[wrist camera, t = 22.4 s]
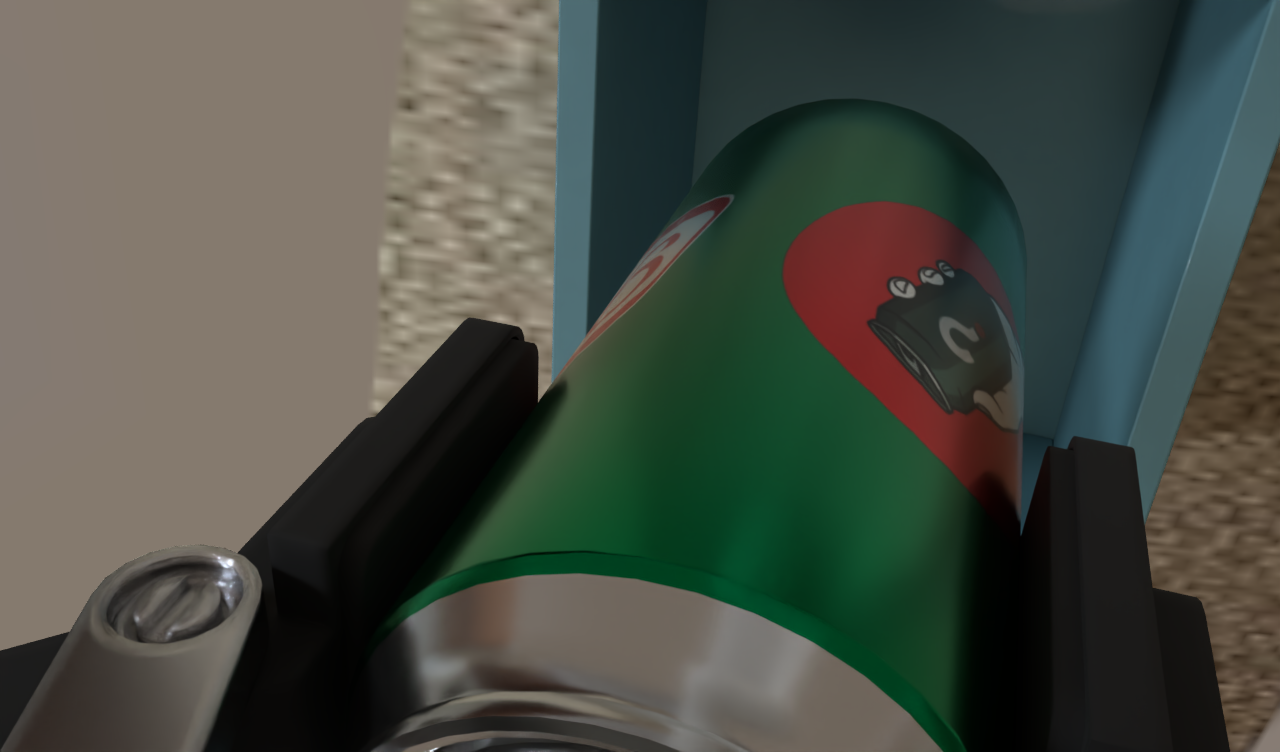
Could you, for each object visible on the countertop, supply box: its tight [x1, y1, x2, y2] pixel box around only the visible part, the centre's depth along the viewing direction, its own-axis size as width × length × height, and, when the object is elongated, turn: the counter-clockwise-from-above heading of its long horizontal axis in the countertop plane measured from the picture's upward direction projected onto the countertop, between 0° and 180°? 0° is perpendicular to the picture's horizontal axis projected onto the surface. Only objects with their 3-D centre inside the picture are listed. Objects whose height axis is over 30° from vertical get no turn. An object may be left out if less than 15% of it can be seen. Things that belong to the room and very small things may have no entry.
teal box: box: [552, 0, 1280, 534], centre depth 27 cm, size 16×13×10 cm
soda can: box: [345, 98, 1027, 752], centre depth 13 cm, size 5×5×12 cm
